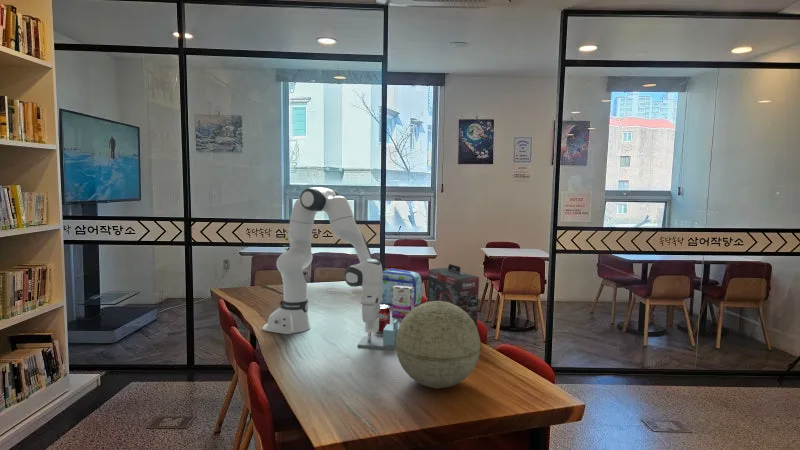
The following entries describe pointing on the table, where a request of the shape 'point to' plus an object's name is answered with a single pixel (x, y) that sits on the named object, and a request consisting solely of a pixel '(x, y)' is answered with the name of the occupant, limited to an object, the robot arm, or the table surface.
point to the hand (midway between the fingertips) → (372, 326)
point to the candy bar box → (402, 300)
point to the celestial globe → (438, 344)
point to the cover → (390, 333)
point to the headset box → (454, 289)
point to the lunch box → (400, 284)
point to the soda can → (383, 317)
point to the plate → (374, 343)
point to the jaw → (375, 326)
